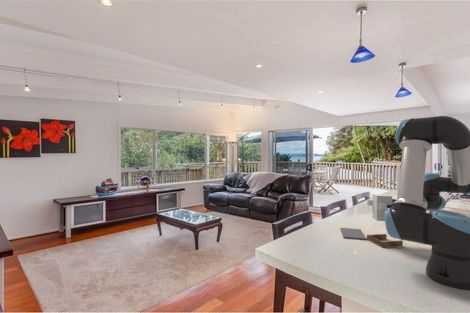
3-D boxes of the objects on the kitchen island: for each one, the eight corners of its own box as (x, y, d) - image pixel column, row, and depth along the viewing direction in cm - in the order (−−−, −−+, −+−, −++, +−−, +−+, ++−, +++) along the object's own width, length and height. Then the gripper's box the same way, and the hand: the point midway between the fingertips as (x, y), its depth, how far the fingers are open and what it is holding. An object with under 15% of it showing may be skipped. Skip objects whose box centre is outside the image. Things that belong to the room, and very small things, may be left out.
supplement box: (393, 221, 126) (392, 196, 126) (376, 221, 128) (376, 195, 128) (387, 218, 133) (387, 194, 133) (371, 217, 135) (371, 193, 135)
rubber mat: (366, 240, 133) (366, 238, 133) (343, 238, 136) (343, 236, 136) (360, 230, 150) (360, 229, 150) (340, 229, 154) (340, 227, 154)
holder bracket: (385, 238, 135) (385, 233, 135) (402, 246, 124) (402, 241, 124) (366, 239, 134) (366, 234, 134) (382, 247, 122) (382, 242, 122)
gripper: (432, 215, 122) (389, 216, 119) (398, 206, 143) (360, 207, 141) (432, 199, 122) (388, 200, 119) (398, 193, 143) (360, 194, 141)
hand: (373, 204), depth 130 cm, fingers closed on supplement box, 9 cm apart
